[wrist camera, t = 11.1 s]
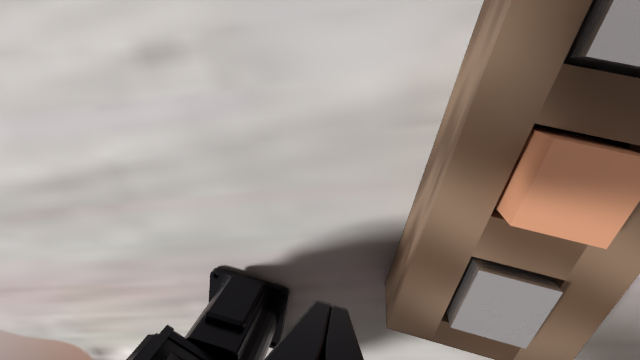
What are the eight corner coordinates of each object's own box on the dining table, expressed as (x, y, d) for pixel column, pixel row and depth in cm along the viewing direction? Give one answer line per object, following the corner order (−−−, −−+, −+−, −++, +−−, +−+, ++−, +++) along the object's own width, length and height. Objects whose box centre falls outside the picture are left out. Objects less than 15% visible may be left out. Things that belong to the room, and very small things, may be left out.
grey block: (623, 75, 14) (704, 78, 10) (535, 58, 14) (586, 56, 11) (678, -24, 12) (796, -59, 9) (578, -40, 13) (653, -79, 9)
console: (526, 322, 21) (559, 378, 17) (385, 283, 22) (386, 328, 18) (770, -63, 12) (940, -119, 8) (518, -99, 13) (573, -162, 9)
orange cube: (557, 209, 16) (606, 249, 13) (482, 191, 17) (510, 225, 13) (597, 139, 15) (665, 162, 11) (513, 121, 15) (554, 138, 11)
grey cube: (499, 297, 19) (525, 348, 16) (437, 281, 20) (450, 327, 16) (527, 248, 18) (563, 292, 14) (459, 231, 18) (479, 270, 15)
